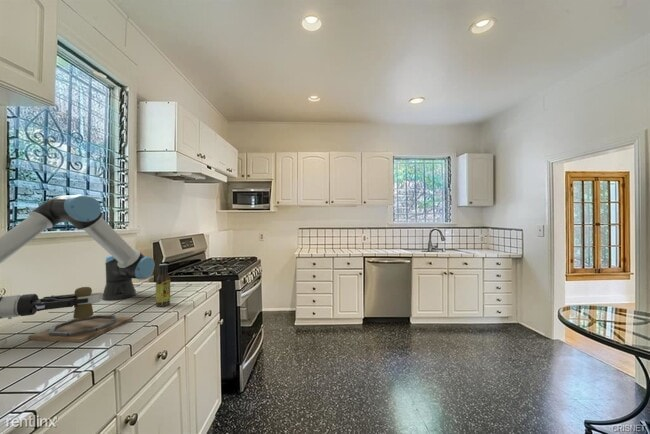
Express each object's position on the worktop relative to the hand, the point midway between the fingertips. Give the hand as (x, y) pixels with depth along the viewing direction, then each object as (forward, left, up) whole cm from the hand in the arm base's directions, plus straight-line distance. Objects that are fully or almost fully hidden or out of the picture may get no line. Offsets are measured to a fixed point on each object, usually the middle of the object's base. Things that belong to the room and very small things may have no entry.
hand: (100, 297), depth 117 cm
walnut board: (+3, -4, -12) cm, 13 cm away
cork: (+3, -4, -7) cm, 9 cm away
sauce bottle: (-29, +5, -12) cm, 32 cm away
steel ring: (+3, -4, -10) cm, 12 cm away
